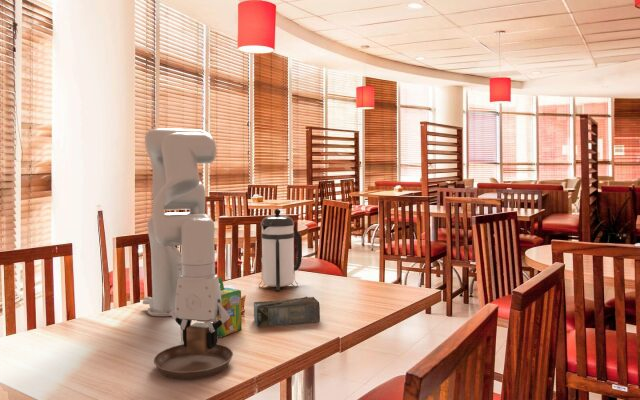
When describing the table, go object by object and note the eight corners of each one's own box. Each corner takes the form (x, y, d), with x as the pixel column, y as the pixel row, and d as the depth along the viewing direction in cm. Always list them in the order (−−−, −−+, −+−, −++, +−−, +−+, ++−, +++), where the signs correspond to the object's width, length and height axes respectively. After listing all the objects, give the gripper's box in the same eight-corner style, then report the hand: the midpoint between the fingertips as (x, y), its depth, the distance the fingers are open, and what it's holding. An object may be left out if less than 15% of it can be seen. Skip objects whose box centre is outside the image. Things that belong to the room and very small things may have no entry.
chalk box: (220, 338, 138) (219, 284, 137) (195, 333, 143) (194, 280, 142) (243, 329, 146) (242, 277, 145) (219, 324, 151) (218, 274, 150)
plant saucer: (245, 372, 116) (245, 359, 116) (166, 391, 106) (166, 377, 106) (216, 349, 131) (216, 337, 131) (145, 364, 121) (145, 351, 121)
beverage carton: (253, 320, 155) (252, 299, 154) (314, 315, 160) (314, 294, 159) (256, 328, 147) (256, 305, 147) (321, 323, 152) (321, 301, 152)
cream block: (180, 348, 131) (180, 325, 130) (189, 343, 135) (189, 320, 134) (196, 350, 129) (196, 327, 129) (205, 344, 134) (204, 321, 133)
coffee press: (299, 291, 189) (298, 210, 187) (256, 292, 189) (254, 210, 187) (301, 281, 206) (301, 206, 204) (262, 281, 206) (261, 207, 205)
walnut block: (186, 353, 120) (186, 327, 119) (196, 346, 124) (196, 322, 124) (204, 355, 119) (204, 329, 118) (213, 348, 123) (213, 323, 123)
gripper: (157, 271, 119) (159, 348, 120) (225, 275, 114) (226, 355, 115) (174, 265, 126) (176, 338, 127) (239, 268, 121) (240, 343, 123)
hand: (200, 345), depth 121 cm, fingers open, 5 cm apart
